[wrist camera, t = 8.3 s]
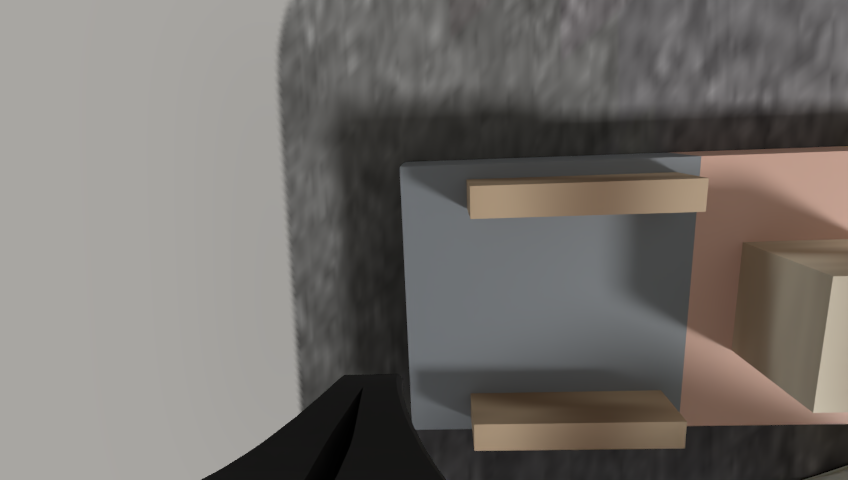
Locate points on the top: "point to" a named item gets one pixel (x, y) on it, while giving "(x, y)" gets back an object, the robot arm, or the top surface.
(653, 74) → the top surface
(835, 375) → the birch block
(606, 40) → the top surface
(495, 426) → the channel walls
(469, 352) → the board
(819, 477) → the tea box
